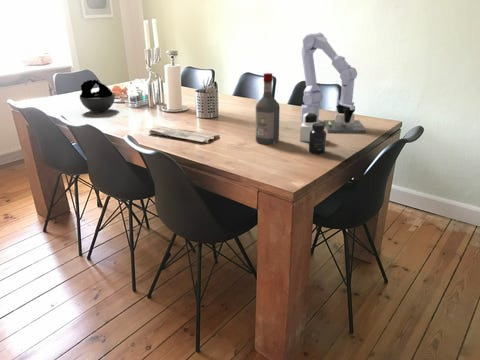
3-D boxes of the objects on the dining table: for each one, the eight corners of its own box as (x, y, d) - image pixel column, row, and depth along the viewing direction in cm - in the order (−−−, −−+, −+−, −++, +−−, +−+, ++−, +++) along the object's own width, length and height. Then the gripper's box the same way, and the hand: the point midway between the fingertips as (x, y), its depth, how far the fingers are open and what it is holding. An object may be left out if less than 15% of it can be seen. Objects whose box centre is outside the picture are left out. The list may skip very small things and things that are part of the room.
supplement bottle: (306, 149, 167) (308, 122, 162) (322, 149, 167) (324, 121, 163) (310, 155, 161) (312, 126, 156) (327, 154, 161) (329, 126, 156)
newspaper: (219, 138, 185) (219, 131, 184) (205, 146, 175) (204, 138, 174) (160, 129, 201) (160, 122, 199) (144, 136, 191) (143, 129, 189)
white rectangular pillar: (353, 125, 194) (354, 114, 191) (334, 125, 195) (335, 114, 193) (353, 124, 196) (354, 113, 194) (334, 123, 198) (335, 112, 196)
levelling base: (327, 132, 189) (328, 127, 188) (323, 123, 205) (323, 117, 204) (365, 133, 187) (366, 127, 186) (358, 123, 204) (359, 117, 203)
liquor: (271, 145, 173) (272, 76, 161) (253, 142, 177) (253, 74, 165) (280, 140, 180) (282, 73, 168) (263, 137, 184) (263, 71, 172)
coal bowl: (87, 108, 245) (81, 78, 238) (119, 107, 247) (115, 76, 239) (78, 116, 227) (72, 83, 219) (113, 115, 229) (109, 82, 221)
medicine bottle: (317, 138, 182) (319, 112, 177) (315, 142, 175) (316, 116, 171) (302, 136, 184) (303, 111, 179) (299, 141, 178) (300, 115, 173)
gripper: (362, 96, 184) (359, 124, 189) (347, 90, 197) (344, 117, 202) (348, 97, 182) (345, 125, 188) (334, 91, 195) (332, 118, 201)
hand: (344, 121), depth 195 cm, fingers closed on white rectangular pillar, 5 cm apart
